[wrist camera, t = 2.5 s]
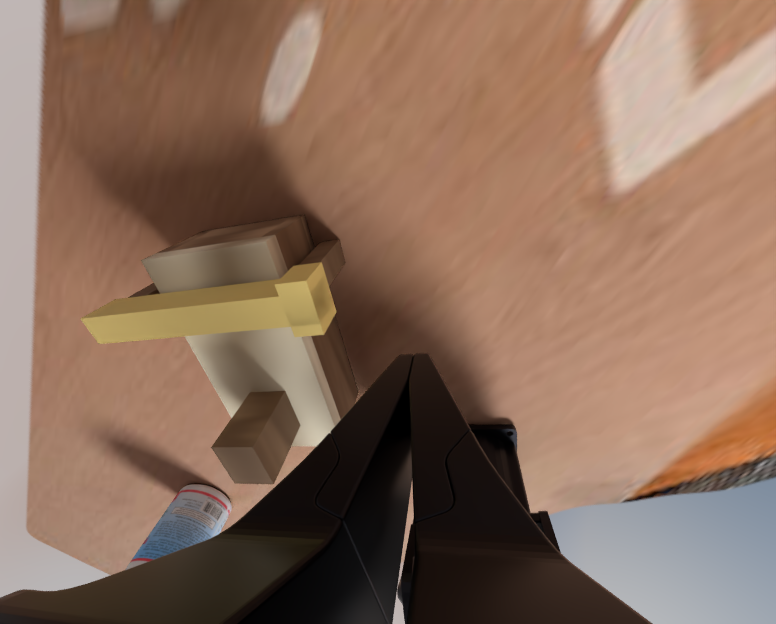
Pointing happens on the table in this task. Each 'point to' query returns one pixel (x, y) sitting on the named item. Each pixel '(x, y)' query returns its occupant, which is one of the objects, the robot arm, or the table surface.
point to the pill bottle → (185, 522)
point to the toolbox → (295, 252)
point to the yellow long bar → (221, 309)
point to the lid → (252, 362)
